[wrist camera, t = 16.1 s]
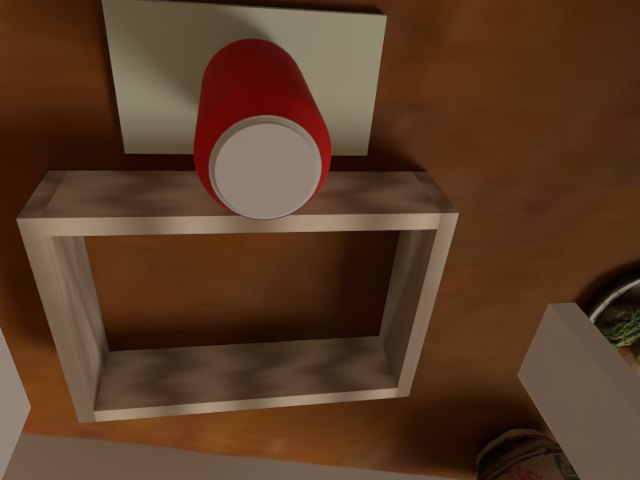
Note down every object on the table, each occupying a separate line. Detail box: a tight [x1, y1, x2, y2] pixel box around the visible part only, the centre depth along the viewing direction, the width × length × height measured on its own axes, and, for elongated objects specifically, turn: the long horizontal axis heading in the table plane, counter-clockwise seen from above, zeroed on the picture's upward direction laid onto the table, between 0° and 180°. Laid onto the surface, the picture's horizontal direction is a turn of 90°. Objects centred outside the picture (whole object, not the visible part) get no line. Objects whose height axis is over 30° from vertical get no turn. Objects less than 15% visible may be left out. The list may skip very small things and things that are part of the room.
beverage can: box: [193, 39, 331, 220], centre depth 25 cm, size 6×6×12 cm
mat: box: [102, 0, 387, 156], centre depth 30 cm, size 16×9×1 cm, turn 85°
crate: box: [16, 170, 459, 423], centre depth 36 cm, size 26×18×6 cm
